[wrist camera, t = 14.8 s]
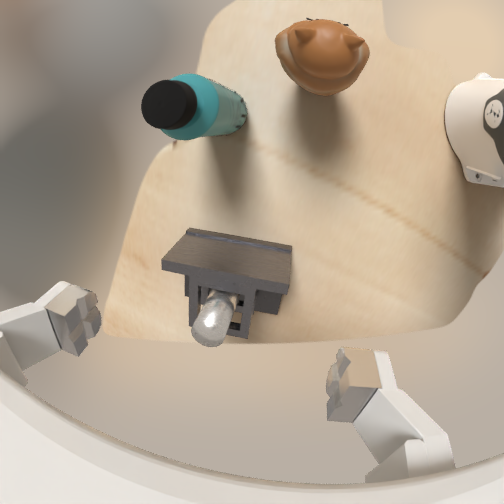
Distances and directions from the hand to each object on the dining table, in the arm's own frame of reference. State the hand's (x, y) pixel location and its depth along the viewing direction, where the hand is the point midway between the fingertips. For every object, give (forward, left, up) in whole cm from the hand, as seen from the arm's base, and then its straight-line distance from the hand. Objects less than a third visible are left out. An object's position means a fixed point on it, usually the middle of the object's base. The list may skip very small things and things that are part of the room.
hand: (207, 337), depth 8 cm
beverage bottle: (+8, -7, -33) cm, 35 cm away
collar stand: (+4, +17, -33) cm, 37 cm away
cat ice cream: (-3, -14, -33) cm, 36 cm away
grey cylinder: (+4, +17, -32) cm, 36 cm away
